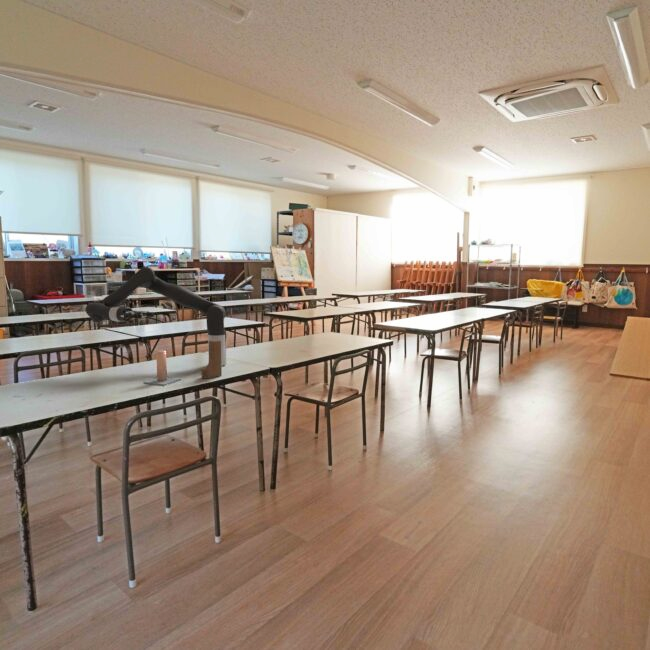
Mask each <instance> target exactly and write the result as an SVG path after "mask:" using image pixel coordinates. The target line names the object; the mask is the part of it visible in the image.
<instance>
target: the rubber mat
mask: <svg viewBox="0 0 650 650" xmlns="http://www.w3.org/2000/svg"><path fill="white" fill-rule="evenodd" d="M178 380H179V381H181V380H182V378H179V377H168V376H167V381H157V377H155V378H151V379H148V380H145V381H143V384H145V383H146V385H147V384H148V385H156V386H162V385H164V386H165V385H166V386H167V384H168V385H170V383H171V384H173V383H172V382H174V383H176V382H175V381H177V382H179V381H178Z"/></svg>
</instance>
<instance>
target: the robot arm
mask: <svg viewBox="0 0 650 650" xmlns="http://www.w3.org/2000/svg"><path fill="white" fill-rule="evenodd" d="M139 287H143V288H146V289H147V290H150V291H152V292H156V293H157V294H159V295H162V296H163V297H164V298H167V299H169V300H171V301H173V302H175V303H176V304H178V305H179V306H183V307H184V308H188V309H191V310H194V311H195V310H196V311H198V312H201V313H202V314H204V315H206V330H207V344H208V346H207V348H208V350H207V351H208V355H207V356H209V340H220V341H221V367H224V366H223V365H225V366H226V365H227V347H226V329H225V319H226V317H227V311H226V309H225V308H224V307H223V306H222V305H220V304H218V303H216V302H213V301H209V300H207V299H205V298H204V297H202V296H200V295H199V294H197V293H195V292H194V291H192V290H190V289H187V287H184V286H182V285H180V284H179V285H178V284H176V283H175V284H174V283H170V282H166V281H165V280H162V279H161V278H159V277H158V276H157V275H156V274H155V271H154V269H152V268H151V267H148V266H144V267H141V268H139V270H137V271H136V272H135V274H134V273H133V275H132V276H131V277H130V278H129V279H128V280H127V281H125V282H124V283H123V284H122V285H121V286H120V287H118V288H117V289H116V290H113V292H111V293H110V294H108V295H106V296H105V297H104V298H103V299H102V303H103V304H102V303H99V302H92V303H91V302H90V303H88V304H87V305H86V306H85V309H84V310H85V313H86V315H88V317H89V318H90V319H91V320H92V321H93V323H101V322H103V321H104V320H105V321H113V322H122V323H129V322H131V321H132V320H134V319H138V320H140V319H143V318H154V316H155V313H154V312H152V311H151V312H150V311H147V310H146V311H144V310H133V309H132V308H131V307H130V306H120V305H121V304H123V303H124V302H125V301H126V300H128V297H130V295H132V293H133V292H134V291H135V290H137V289H138V288H139Z"/></svg>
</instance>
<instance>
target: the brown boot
mask: <svg viewBox="0 0 650 650" xmlns="http://www.w3.org/2000/svg"><path fill="white" fill-rule="evenodd" d="M222 372H223V371H222V366H221V341H220V340H209V355H208V363H207V365H206V366H205V367H202V368H201V378H202V377H203V379H206V380H208V379H212V378H218V377H222ZM217 376H218V377H217Z"/></svg>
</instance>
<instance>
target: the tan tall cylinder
mask: <svg viewBox="0 0 650 650" xmlns="http://www.w3.org/2000/svg"><path fill="white" fill-rule="evenodd" d="M155 351H156V352H155V353H156V354H155V355H156V357H155V359H156V378H157V381H167V377H168V369H167V368H168V366H167V350H165V349H164V350H155Z"/></svg>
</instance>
